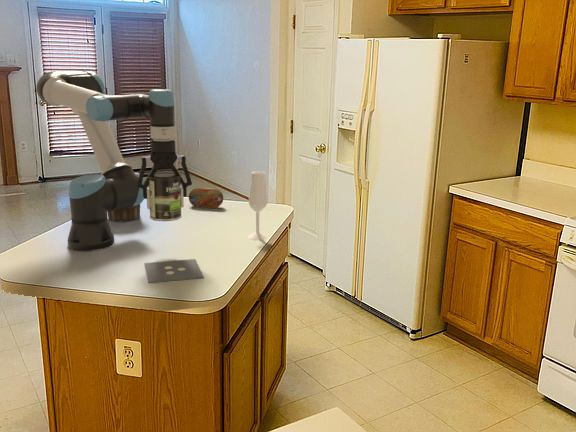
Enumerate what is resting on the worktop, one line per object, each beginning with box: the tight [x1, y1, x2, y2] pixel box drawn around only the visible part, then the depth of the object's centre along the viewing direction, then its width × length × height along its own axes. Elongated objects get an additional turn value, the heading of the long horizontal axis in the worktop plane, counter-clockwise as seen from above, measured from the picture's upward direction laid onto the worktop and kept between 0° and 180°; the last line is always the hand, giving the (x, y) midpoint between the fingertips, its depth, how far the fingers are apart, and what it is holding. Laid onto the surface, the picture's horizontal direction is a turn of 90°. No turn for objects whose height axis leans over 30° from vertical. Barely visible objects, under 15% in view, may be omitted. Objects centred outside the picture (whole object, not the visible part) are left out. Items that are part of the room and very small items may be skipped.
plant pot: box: [107, 204, 141, 223], centre depth 227 cm, size 16×16×16 cm
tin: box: [188, 187, 224, 209], centre depth 248 cm, size 15×3×8 cm, turn 81°
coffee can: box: [147, 171, 183, 222], centre depth 186 cm, size 10×10×14 cm
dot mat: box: [144, 258, 205, 284], centre depth 175 cm, size 16×16×1 cm
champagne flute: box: [248, 170, 268, 241], centre depth 206 cm, size 7×7×24 cm
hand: (165, 207), depth 187 cm, fingers closed on coffee can, 10 cm apart
